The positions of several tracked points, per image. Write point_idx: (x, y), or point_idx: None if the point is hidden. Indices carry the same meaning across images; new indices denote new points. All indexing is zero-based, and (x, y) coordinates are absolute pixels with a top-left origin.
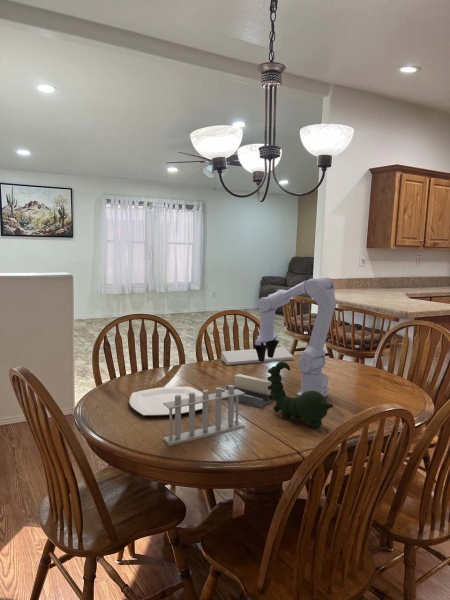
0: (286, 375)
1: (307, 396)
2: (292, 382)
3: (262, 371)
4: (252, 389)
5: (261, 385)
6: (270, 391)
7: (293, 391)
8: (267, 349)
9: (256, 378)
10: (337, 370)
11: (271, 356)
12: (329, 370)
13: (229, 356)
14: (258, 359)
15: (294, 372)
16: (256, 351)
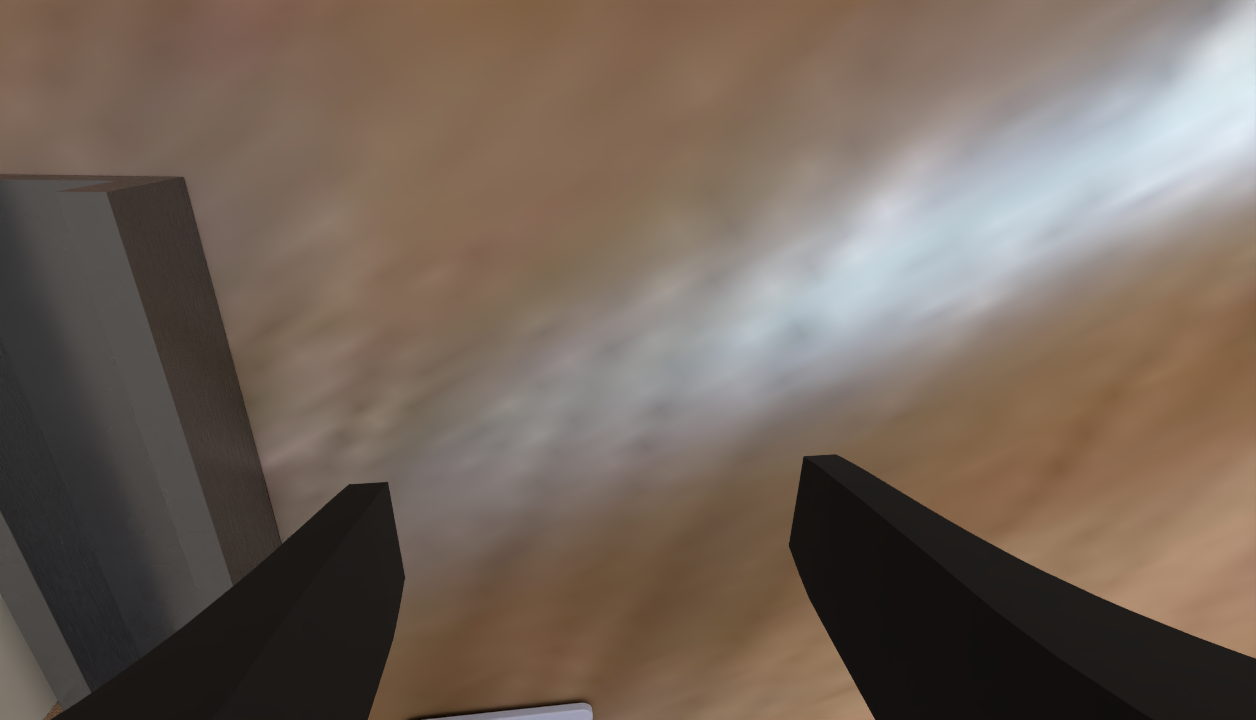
0: (928, 395)
1: None
2: (725, 544)
3: (981, 55)
4: None
5: None
6: (70, 702)
7: (484, 660)
8: (927, 566)
9: None
10: (1232, 633)
11: (802, 551)
12: (1219, 595)
13: None
14: (334, 497)
15: (1069, 407)
16: (102, 686)
